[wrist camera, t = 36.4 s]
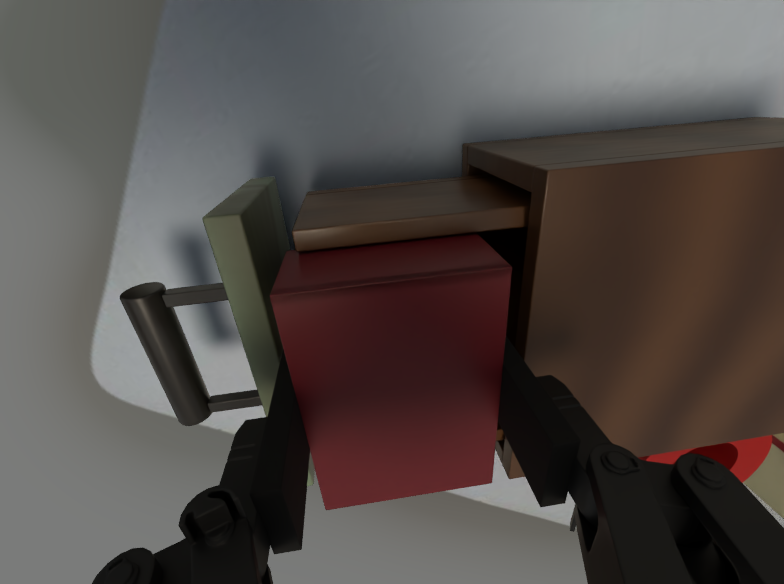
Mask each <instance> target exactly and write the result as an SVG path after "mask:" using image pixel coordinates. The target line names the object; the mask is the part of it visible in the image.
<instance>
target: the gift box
mask: <svg viewBox="0 0 784 584" xmlns="http://www.w3.org/2000/svg"><path fill="white" fill-rule="evenodd" d="M743 483H744V484H745V485H746V486H748V487H749V488H750V489H751V490H752V491H753V492H754V493H755V494H757V495H758V496H759V497H760V498H761V499H762V500H763V501H764V502H765V503H766V504H768V505H769V506H770V507H771V508H772V509H773V510H774V511H775V512H777V513H778V514H779V515H780V516H781V517H782V518H783V519H784V433H781V434H775V435H772V445H771V448H770V451H769V453H768V455H767V456H766V458H765V460H764V461H763V463H762V464H761V465H760V466H759V468H758V469H757V470H756V471H755V472H754V473H753V474H752V475H751V476H750V477H749V478H748V479H746V480H745V481H744V482H743Z"/></svg>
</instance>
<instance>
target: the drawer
mask: <svg viewBox="0 0 784 584" xmlns="http://www.w3.org/2000/svg"><path fill="white" fill-rule="evenodd" d="M531 195H532V192H529V191H527V190H525V189H523V188H520V187H518V186H516V185H514V184H512V183H509V182H507V181H505V180H503V179H501V178H498V177H496V176H494V175H492V174H483V175H473V176H462V177H452V178H442V179H432V180H421V181H411V182H401V183H391V184H381V185H370V186H360V187H350V188H340V189H330V190H319V191H309V192H307V193H306V196H305V199H304V201H303V204H302V206H301V209H300V212H299V214H298V217H297V219H296V222H295V224H294V227H293V230H292V236H293V241H294V246H295V250H296V252H302V251H311V250H320V249H329V248H338V247H347V246H356V245H365V244H374V243H383V242H392V241H401V240H410V239H419V238H428V237H437V236H446V235H455V234H464V233H473V232H476V233H477V234H478V235H479V236H480V237H481V238H482V239H483V240H484V241H485V242H487V243H488V244H489V245H490V246H491V247H492V248H493V249H494V250H495V251H496V252H497V253H498V254H499V255H500V256H501V257H502V258H503V259H504V260H505V261H506V262H507V263H509V264H510V265H511V266H512V274H511V285H510V296H509V306H508V317H507V328H506V336H507V338H508V339H509V340H510V342H511V343H512V345H513V346H514V347H515V342H516V333H517V324H518V315H519V305H520V296H521V287H522V278H523V269H524V259H525V250H526V241H527V232H528V223H529V213H530V204H531ZM202 220H203V223H204V226H205V229H206V232H207V235H208V238H209V241H210V244H211V247H212V250H213V254H214V257H215V260H216V263H217V266H218V269H219V272H220V275H221V278H222V281H223V283H217V284H208V285H200V286H191V287H182V288H174V289H167V290H166V288H165V286H164V285H163V284H162V283H159V282H151V283H145V284H140V285H137V286H134V287H132V288H130V289H128V290H126V291H124V292H123V293H122V294H121V295H120V300H121V302H122V304H123V306H124V308H125V310H126V313H127V315H128V317H129V319H130V321H131V323H132V325H133V327H134V329H135V331H136V333H137V335H138V337H139V339H140V342H141V344H142V346H143V348H144V350H145V352H146V354H147V356H148V358H149V360H150V362H151V364H152V366H153V368H154V370H155V373H156V375H157V377H158V379H159V381H160V383H161V385H162V387H163V389H164V391H165V393H166V395H167V397H168V399H169V402H170V404H171V406H172V408H173V410H174V412H175V414H176V416H177V418H178V420H179V422H180V423H181V424H182V425H185V426H192V425H196V424H199V423H201V422H203V421H204V420H206V419H207V418H208V417H209V416H210V415H211V414H212V412H218V411H225V410H232V409H239V408H246V407H253V406H260V405H263V408H264V411H265V415H266V417H267V416H268V412H269V407H270V403H271V399H272V394H273V390H274V386H275V381H276V377H277V373H278V368H279V364H280V360H281V355H282V351H283V345H282V341H281V338H280V334H279V330H278V326H277V322H276V319H275V315H274V311H273V307H272V303H271V299H270V294H271V291H272V288H273V286H274V283H275V280H276V278H277V275H278V272H279V270H280V267H281V264H282V262H283V259H284V256H285V254H286V251H290V245H289V241H288V236H287V231H286V227H285V222H284V217H283V213H282V208H281V203H280V199H279V194H278V189H277V185H276V180H275V177H263V178H252V179H250V180H248V181H247V182H246V183H245V184H243V185H242V186H241V187H240V188H238V189H237V190H236V191H235V192H234V193H232V194H231V195H230V196H229V197H227V198H226V199H225V200H224V201H222V202H221V203H220V204H219V205H218V206H216V207H215V208H214V209H213V210H211V211H210V212H209V213H208V214H206V215H205V216H204V217H203V219H202ZM225 300H229V303H230V306H231V309H232V312H233V315H234V319H235V322H236V325H237V328H238V331H239V334H240V337H241V340H242V343H243V346H244V350H245V353H246V356H247V359H248V362H249V365H250V368H251V371H252V374H253V377H254V381H255V384H256V387H257V390H251V391H243V392H236V393H229V394H222V395H215V396H211V397H210V396H209V393H208V391H207V388H206V386H205V383H204V381H203V378H202V376H201V374H200V371H199V369H198V366H197V364H196V361H195V359H194V356H193V354H192V352H191V349H190V347H189V344H188V342H187V339H186V337H185V334H184V332H183V330H182V327H181V325H180V322H179V320H178V317H177V315H176V312H175V310H174V308H173V307H175V306H183V305H191V304H200V303H208V302H217V301H225ZM498 440H505V434H504V432H503V430H502V428H501V426H500V424H499V422H498V423H497V434H496V441H498ZM314 471H315V467H314V464H313V460H312V456H311V452H310V457H309V468H308V480H307V486H311V485H313V484H314Z"/></svg>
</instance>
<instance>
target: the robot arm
mask: <svg viewBox="0 0 784 584" xmlns="http://www.w3.org/2000/svg"><path fill="white" fill-rule="evenodd" d="M498 422H499V424H500V426H501V428H502V430H503V432H504V434H505V436H506V438H507V440H508V443H509V445H510V447H511V449H512V451H513V453H514V455H515V457H516V459H517V461H518V463H519V465H520V467H521V469H522V471H523V473H524V475H525V477H526V479H527V481H528V483H529V485H530V487H531V489H532V491H533V493H534V495H535V497H536V499H537V501H538V503H539V505H540V507H545V506H551V505H556V504H562V503H565V501H566V497H567V493H568V492H569V493H570V495H571V497H572V498H573V500H574V502H575V503H576V504H575V508H574V511H573V515H572V518H571V522H570V531H574V530H575V527H577V532H578V536H579V542H580V546H581V552H582V557H583V561H584V567H585V571H586V576H587V581H588V584H784V528H783V527H782V526H781V525H780V524H779V522H778V521H777V520H776V519H775V518H774V517H773V516H772V515H771V514H770V513H769V512H768V511H767V509H766V508H765V507H764V506H763V505H762V504H761V503H760V502H759V501H758V500H757V499H756V498H755V496H754V495H753V494H752V493H751V492H750V491H749V490H748V489H747V488H746V487H745V486H744V485H743V483H742V482H741V481H740V480H739V479H738V478H737V477H736V476H735V475H734V474H733V473H732V472H731V471H730V470H729V469H727V468H726V467H725V466H724V465H722V464H721V463H719V462H717V461H715V460H714V459H712V458H709V457H706V456H703V455H701V454H693V453H687V454H683V455H681V456H680V457H679V458H678V459H677V460H676V462H675V465H674V464H666V463H659V462H651V461H645V460H641V459H639V458H637V457H636V456H635V455H634V454H633V453H632V452H631V451H629V450H627V449H625V448H623V447H621V446H619V445H615V444H613V443H612V442H611V441H610V440H609V439H608V438H607V436H606V435H605V434H604V433H603V431H602V430H601V429H600V428H599V426H598V425H597V424H596V423H595V421H594V420H593V419H592V418H591V416H590V415H589V414H588V413H587V411H586V410H585V409H584V408H583V407H581V404H580V403H579V401H578V400H577V399H576V398H575V397H574V396H573V394H572V393H571V391H570V390H569V389H568V388H567V386H566V385H565V384H564V383H563V382H561V381H560V380H558V379H557V378H555V377H554V376H552V375H546V376H539V377H535V375H534V374H533V373H532V371H531V370H530V368H529V367H528V366H527V364H526V363H525V361H524V360H523V359H522V357H521V356H520V354H519V353H518V352H517V350H516V349H515V347H514V346H513V345H512V343H511V342H510V340H509V339H508V338H507V336H506V338H505V349H504V359H503V370H502V381H501V391H500V402H499V413H498ZM309 457H310V447H309V444H308V440H307V436H306V432H305V428H304V424H303V421H302V417H301V413H300V409H299V405H298V402H297V398H296V394H295V391H294V387H293V383H292V380H291V376H290V372H289V368H288V364H287V361H286V357H285V353H284V349H283V351H282V355H281V360H280V364H279V368H278V373H277V377H276V381H275V386H274V390H273V394H272V399H271V403H270V407H269V412H268V416H267V417H265V418H258V419H251V420H246V421H245V422H244V423H243V425H242V426H241V427H240V428H239V430H238V431H237V432H236V434H235V437H234V440H233V443H232V446H231V451H230V453H229V456H228V459H227V460H228V461H227V463H226V465H225V469H224V472H223V475H222V478H221V481H220V485H218V486H215V487H212V488H208V489H206V490H205V491H203V492H201V493H199V494H198V495H196V496H195V498H193V499H192V500H191V502H189V503H188V504H187V506H186V508H185V509H184V511H183V513H182V514H181V517H180V522H179V527H180V529H181V531H182V532H183V534H184V536H185V537H186V538H185V539H183V540H182V541H180V542H178V543H176V544H174V545H172V546H169V547H167V548H165V549H163V550H161V551H159V552H157V553H155V554H152V553H151V551H149V550H147V549H145V548H134V549H130V550H128V551H126V552H124V553H121V554H120V555H118V556H117V557H115V558H114V559H113V560H111V561H110V562H109V563H107V565H106V566H105V567H104V568H103V569H102V570H101V571H100V572H99V574H97V576H96V577H95V579H94V581H93V583H92V584H273V581H272V576H271V571H270V568H269V567H268V564H267V562H268V555H269V549H270V545H271V548H272V550H273V552H274V554H278V553H284V552H290V551H296V550H301V549H302V538H303V527H304V515H305V504H306V492H307V480H308V468H309Z"/></svg>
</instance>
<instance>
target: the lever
mask: <svg viewBox="0 0 784 584" xmlns="http://www.w3.org/2000/svg"><path fill="white" fill-rule="evenodd" d="M771 445H772V435H769V436H763V437H757V438H751V439H745V440H739V441H733V442H728V443H722V444H716V445H710V446H704V447H698V448H692V449H686V450H680V451H674V452H668V453H662V454H656V455H650V456H644V457H638V458H639V459H641V460H645V461H651V462H659V463H666V464H674V465H675V462H676V460H677V459H678V458H679V457H680V456H681V455H683V454H687V453H693V454H701V455H703V456H706V457H709V458H712V459H714V460H715V461H717V462H719V463H721V464H722V465H724V466H725V467H726V468H727V469H729V470H730V471H731V472H732V473H733V474H734V475H735V476H736V477H737V478H738V479H739V480H740V481H741V482H742V483H743V482H744V481H745V480H746V479H748V478H749V477H750V476H751V475H752V474H753V473H754V472H755V471H756V470H757V469H758V468H759V466H760V465H761V464H762V463H763V461H764V460H765V458H766V456H767V455H768V453H769V451H770V448H771Z"/></svg>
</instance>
